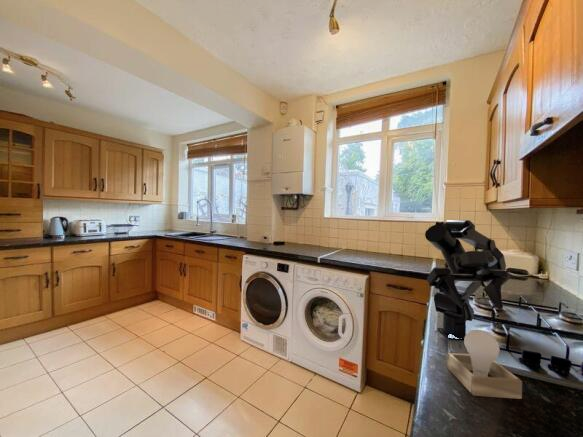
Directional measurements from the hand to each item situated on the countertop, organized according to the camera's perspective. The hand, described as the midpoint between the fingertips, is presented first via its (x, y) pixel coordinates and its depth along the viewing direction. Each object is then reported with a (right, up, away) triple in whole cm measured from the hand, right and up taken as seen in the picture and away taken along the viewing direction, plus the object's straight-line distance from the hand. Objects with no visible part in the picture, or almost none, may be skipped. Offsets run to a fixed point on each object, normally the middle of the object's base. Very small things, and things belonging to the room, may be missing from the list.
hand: (481, 307), depth 60 cm
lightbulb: (-6, -14, -7) cm, 16 cm away
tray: (-6, -13, -7) cm, 16 cm away
